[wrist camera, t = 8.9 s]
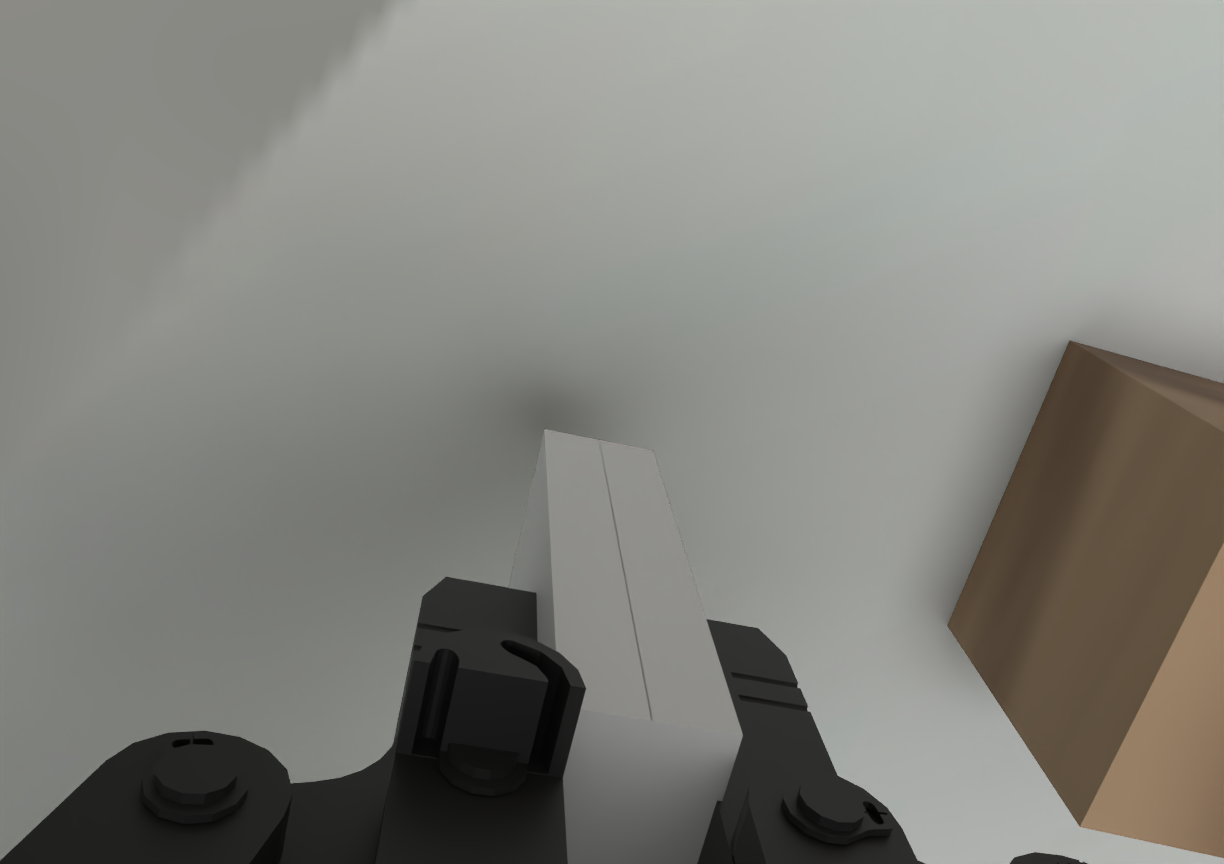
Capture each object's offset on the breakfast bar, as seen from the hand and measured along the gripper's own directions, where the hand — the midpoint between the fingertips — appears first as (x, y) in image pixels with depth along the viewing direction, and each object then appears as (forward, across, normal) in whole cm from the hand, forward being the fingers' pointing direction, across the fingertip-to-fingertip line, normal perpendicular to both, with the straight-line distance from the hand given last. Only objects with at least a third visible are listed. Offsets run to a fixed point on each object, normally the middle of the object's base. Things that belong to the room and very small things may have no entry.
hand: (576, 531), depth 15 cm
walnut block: (+5, +12, 0) cm, 13 cm away
